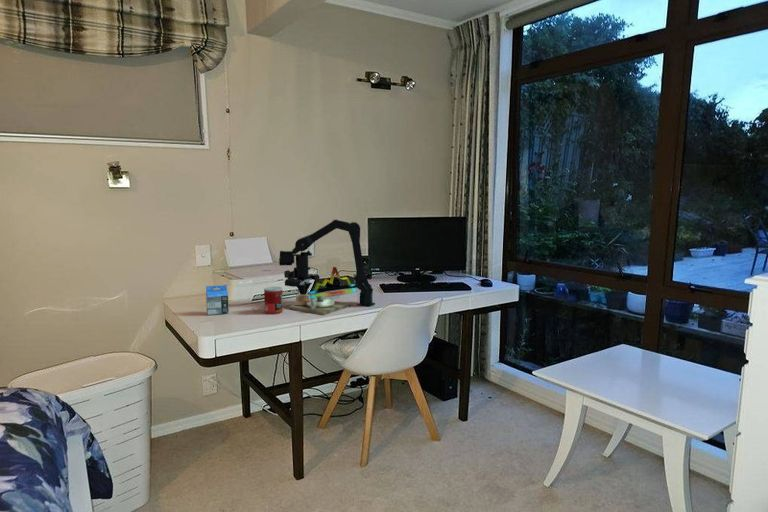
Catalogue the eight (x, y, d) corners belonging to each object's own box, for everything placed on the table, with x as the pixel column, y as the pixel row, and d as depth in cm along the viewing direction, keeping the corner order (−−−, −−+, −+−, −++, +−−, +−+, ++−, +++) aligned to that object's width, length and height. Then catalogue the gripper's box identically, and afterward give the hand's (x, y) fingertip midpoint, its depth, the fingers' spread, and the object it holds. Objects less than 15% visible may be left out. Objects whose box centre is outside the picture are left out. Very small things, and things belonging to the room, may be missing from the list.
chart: (308, 301, 238) (307, 271, 236) (304, 300, 240) (304, 270, 238) (356, 292, 258) (356, 265, 256) (352, 291, 260) (352, 264, 258)
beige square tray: (317, 300, 238) (317, 288, 237) (350, 305, 227) (350, 293, 226) (289, 309, 221) (289, 296, 220) (323, 315, 210) (323, 301, 210)
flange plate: (334, 300, 231) (334, 291, 230) (334, 307, 218) (333, 297, 217) (297, 301, 229) (297, 292, 229) (294, 307, 217) (294, 298, 216)
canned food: (278, 315, 210) (278, 290, 209) (261, 313, 212) (260, 289, 210) (285, 310, 218) (285, 286, 216) (269, 309, 219) (268, 286, 218)
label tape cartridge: (207, 315, 209) (206, 287, 207) (206, 313, 212) (205, 286, 210) (228, 313, 212) (227, 286, 210) (227, 311, 216) (226, 284, 214)
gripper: (301, 261, 236) (302, 292, 238) (275, 266, 220) (276, 299, 222) (319, 263, 230) (320, 295, 232) (293, 268, 214) (294, 302, 217)
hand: (302, 298), depth 226 cm, fingers closed
